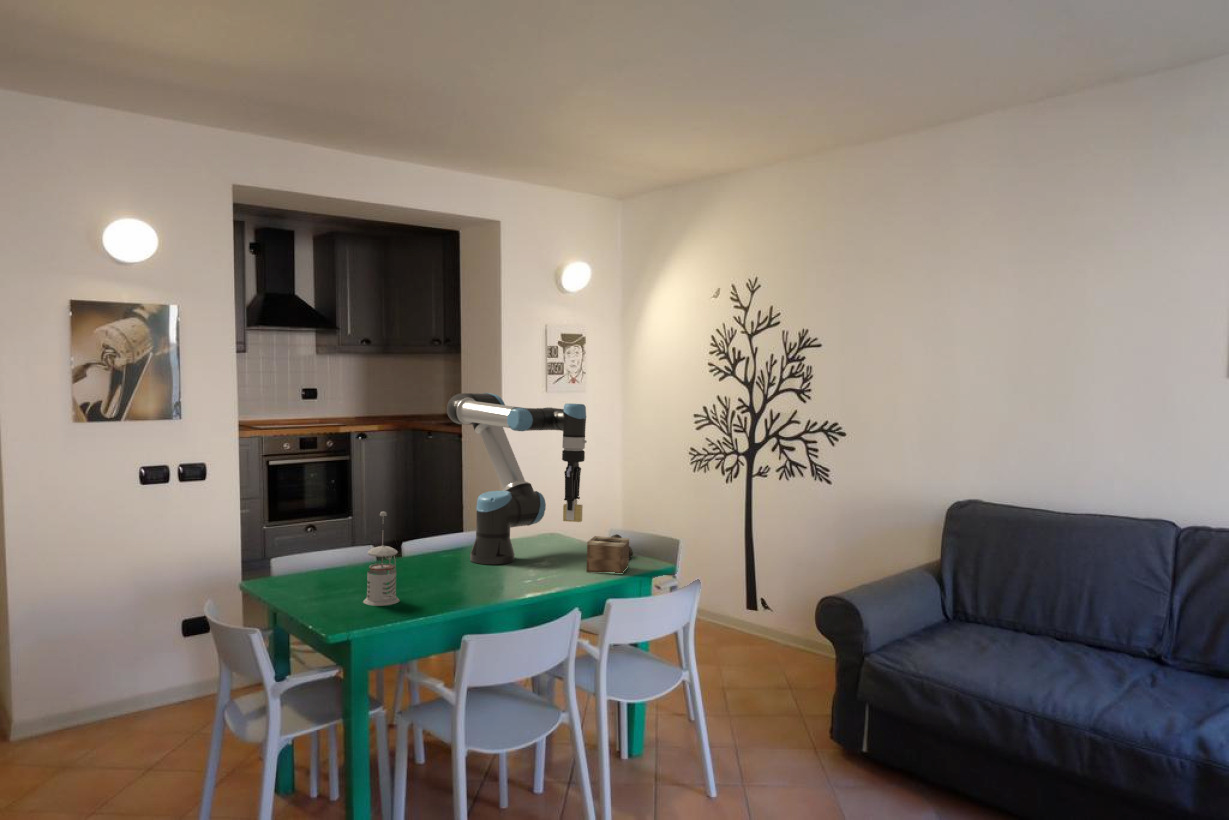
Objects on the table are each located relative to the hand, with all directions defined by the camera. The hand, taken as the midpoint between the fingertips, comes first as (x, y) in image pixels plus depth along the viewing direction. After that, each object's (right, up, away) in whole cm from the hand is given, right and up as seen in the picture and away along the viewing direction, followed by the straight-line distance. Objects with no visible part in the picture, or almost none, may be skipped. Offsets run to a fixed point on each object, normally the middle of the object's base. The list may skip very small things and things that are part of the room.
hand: (571, 518), depth 277 cm
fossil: (+16, -17, +18) cm, 29 cm away
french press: (-50, -17, -48) cm, 71 cm away
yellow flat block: (0, -1, 0) cm, 1 cm away
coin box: (+12, -17, -2) cm, 21 cm away
